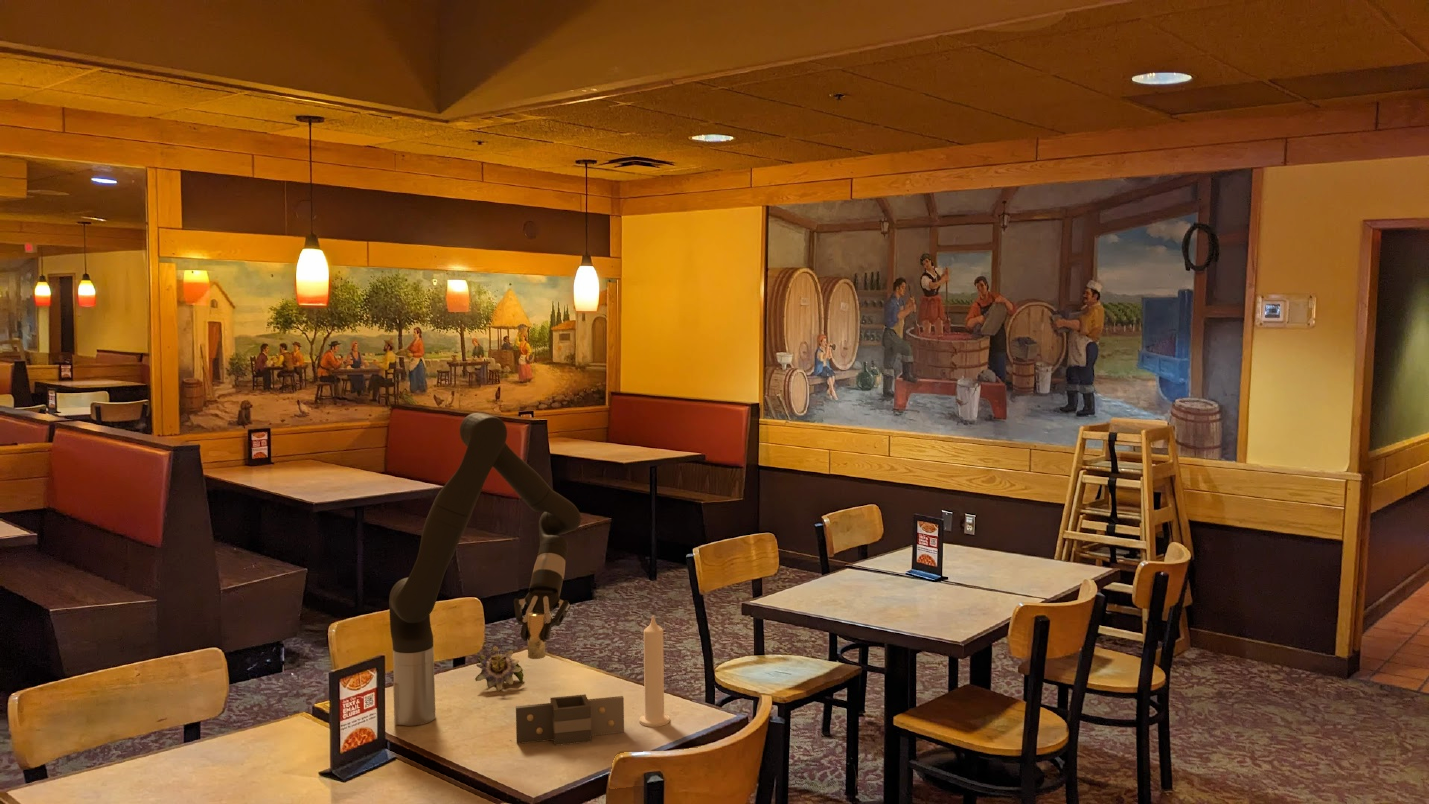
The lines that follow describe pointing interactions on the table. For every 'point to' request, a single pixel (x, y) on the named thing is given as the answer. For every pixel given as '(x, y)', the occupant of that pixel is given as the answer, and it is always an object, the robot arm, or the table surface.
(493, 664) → the passion flower
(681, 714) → the table surface
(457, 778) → the table surface
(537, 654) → the amber cylinder
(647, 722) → the candle
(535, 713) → the hinge
